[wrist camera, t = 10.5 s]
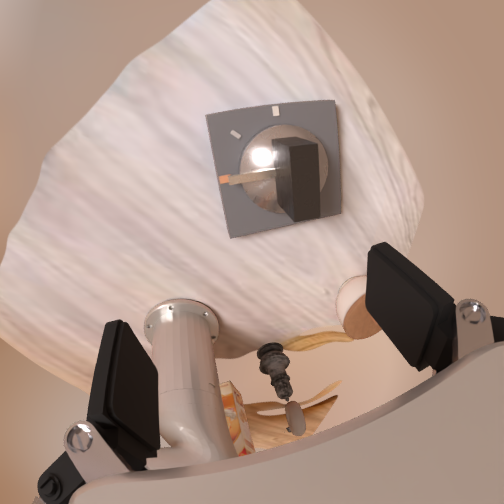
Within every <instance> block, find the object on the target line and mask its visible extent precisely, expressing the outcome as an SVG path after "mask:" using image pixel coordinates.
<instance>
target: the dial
mask: <svg viewBox="0 0 504 504" xmlns="http://www.w3.org/2000/svg"><path fill="white" fill-rule="evenodd" d="M327 173H328V160H327V155H326V152H325V149H324V147H323V146H322V144H321V142H320V141H319V140H318V139H317V138H316V137H315V136H314V135H313V134H312V133H311V132H309V131H307V130H306V129H303V128H301V127H298V126H294V125H288V124H278V125H272V126H269V127H266V128H264V129H262V130H261V131H259V132H257V133H256V134H255V135H254V136H253V137H252V138H251V139H250V140H249V141H248V142H247V144H246V145H245V147H244V149H243V151H242V153H241V156H240V160H239V174H236V175H230V176H228V181H229V185H234V184H239V183H241V184H242V187H243V188H244V190H245V192H246V193H247V195H248V196H249V198H250V199H251V200H252V201H253V202H254V203H255V204H256V205H258V206H259V207H261V208H263V209H265V210H267V211H270V212H274V213H286V214H287V215H288V216H289V217H290V218H291V219H292V220H293V222H294V223H295V222H300V221H306V220H311V219H316V218H321V212H320V192H321V190H322V188H323V186H324V184H325V182H326V178H327Z"/></svg>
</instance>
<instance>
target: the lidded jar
mask: <svg viewBox="0 0 504 504" xmlns="http://www.w3.org/2000/svg"><path fill="white" fill-rule="evenodd" d="M366 282H367V276H357V277H353V278H350V279H349V280H347V281H346V282H345V283H344V284H343V285H342V286H341V288H340V290H339V292H338V296H337V299H336V313H337V316H338V319H339V321H340V323H341V325H342V327H343V328H344V330H345V332H346V334H347V335H348V336H349V337H350V338H352V339H364V338H368V337H370V336H372V335H374V334H376V333H377V332H379V331H380V330H382V328H381V327H380V326H379V325H378V323H377V322H376V321H375V320H374V319H373V317H372V316H371V315H370V314H369V312H368V311H367V309H366V306H365V296H366Z"/></svg>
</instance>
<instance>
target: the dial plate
mask: <svg viewBox="0 0 504 504" xmlns="http://www.w3.org/2000/svg"><path fill="white" fill-rule="evenodd" d="M205 116H206V121H207V127H208V132H209V137H210V143H211V148H212V153H213V159H214V164H215V169H216V174H217V179H218V184H219V189H220V194H221V199H222V204H223V209H224V214H225V219H226V224H227V229H228V233H229V236H230V239H231V238H235V237H239V236H244V235H248V234H252V233H257V232H261V231H265V230H270V229H274V228H279V227H283V226H287V225H292V224H296V223H301V222H305V221H300V222H295V223H294V222H293V220H292V219H291V218H290V217H289V216H288V215H287V214H286V213H274V212H270V211H267V210H265V209H263V208H261V207H259V206H258V205H256V204H255V203H254V202H253V201H252V200H251V199H250V198H249V196H248V195H247V193H246V192H245V190H244V188H243V187H242V184H241V183H239V184H234V185H229V181H228V176H230V175H236V174H239V160H240V156H241V153H242V151H243V149H244V147H245V145H246V144H247V142H248V141H249V140H250V139H251V138H252V137H253V136H254V135H255V134H256V133H257V132H259V131H261V130H262V129H264V128H266V127H269V126H272V125H278V124H288V125H294V126H298V127H301V128H303V129H306V130H307V131H309V132H311V133H312V134H313V135H314V136H315V137H316V138H317V139H318V140H319V141H320V142H321V144H322V146H323V147H324V149H325V152H326V155H327V160H328V173H327V178H326V182H325V184H324V186H323V188H322V190H321V192H320V212H321V218H324V217H328V216H333V215H337V214H341V186H340V160H339V143H338V129H337V117H336V106H335V100H317V101H302V102H290V103H280V104H271V105H262V106H255V107H248V108H241V109H235V110H229V111H223V112H218V113H212V114H207V115H205ZM316 219H319V218H316ZM311 220H314V219H311ZM306 221H310V220H306Z"/></svg>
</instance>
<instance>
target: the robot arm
mask: <svg viewBox="0 0 504 504" xmlns="http://www.w3.org/2000/svg"><path fill="white" fill-rule="evenodd" d="M365 306H366V309H367V311H368V312H369V314H370V315H371V316H372V317H373V319H374V320H375V321H376V322H377V323H378V325H379V326H380V327H381V328H382V330H383V331H384V332H385V333H386V335H387V336H388V337H389V338H390V340H391V341H392V342H393V344H394V345H395V346H396V347H397V349H398V350H399V351H400V353H401V354H402V355H403V357H404V358H405V359H406V360H407V362H408V363H409V364H410V365H411V366H412V367H416V369H417V370H418V371H419V372H420V371H421V370H423V369H425V368H426V367H428V366H429V365H430V366H431V367H432V369H433V374H432V377H431V378H429V379H428V380H426V381H424V382H423V383H421V384H419V385H418V386H416V387H414V388H413V389H411V390H409V391H407V392H406V393H404V394H402V395H400V396H398V397H396V398H395V399H393V400H391V401H389V402H387V403H385V404H383V405H381V406H379V407H377V408H375V409H373V410H371V411H369V412H367V413H365V414H363V415H360V416H358V417H356V418H354V419H351V420H350V421H347V422H345V423H342V424H340V425H337V426H335V427H332V428H330V429H328V430H325V431H323V432H320V433H317V434H314V435H311V436H309V437H306V438H303V439H300V440H297V441H294V442H291V443H288V444H284V445H281V446H278V447H274V448H271V449H267V450H264V451H260V452H256V453H252V454H248V455H244V456H240V457H239V456H238V454H237V452H236V449H235V447H234V444H233V441H232V438H231V435H230V432H229V428H228V424H227V420H226V416H225V411H224V406H223V401H222V396H221V390H220V385H219V379H218V374H217V368H216V363H215V356H214V350H213V344H214V343H215V341H216V340H217V338H218V335H219V329H220V328H219V322H218V319H217V317H216V315H215V314H214V312H213V311H212V310H211V309H210V308H208V307H207V306H205V305H203V304H201V303H199V302H196V301H192V300H186V299H174V300H169V301H166V302H163V303H160V304H159V305H157V306H155V307H154V308H153V309H152V310H151V311H150V312H149V313H148V315H147V316H146V319H145V324H144V333H145V336H146V338H147V340H148V342H149V343H150V344H151V345H152V360H151V359H150V357H149V356H148V354H147V353H146V351H145V350H144V348H143V347H142V345H141V344H140V342H139V341H138V339H137V337H136V336H135V334H134V333H133V331H132V329H131V328H130V326H129V324H128V323H127V322H123V321H122V320H115V321H111V322H107V323H106V325H105V328H104V332H103V336H102V340H101V345H100V349H99V353H98V358H97V363H96V366H95V371H94V376H93V382H92V387H91V393H90V400H89V406H88V413H87V420H86V421H77V422H75V423H73V424H72V425H70V427H69V428H68V429H67V431H66V432H65V435H64V447H65V449H66V451H65V452H64V453H63V454H62V455H61V456H60V457H59V458H58V459H57V460H56V461H55V462H54V463H53V464H52V465H51V466H50V467H49V468H48V469H47V470H46V471H45V472H44V473H43V474H42V475H41V476H40V478H39V480H38V493H39V495H40V497H39V498H38V497H35V499H34V502H33V504H504V318H502V317H495V316H490V315H489V312H488V309H487V308H486V307H485V306H484V305H483V304H482V303H481V302H479V301H477V300H474V299H464V300H461V301H460V302H459V303H458V304H457V306H456V305H455V304H454V299H453V298H452V297H451V296H450V295H449V294H448V293H447V292H446V291H444V290H443V289H442V288H441V287H440V286H439V285H438V284H437V283H435V282H434V281H433V280H432V279H431V278H430V277H428V276H427V275H426V274H425V273H424V272H423V271H421V270H420V269H419V268H418V267H417V266H415V265H414V264H413V263H412V262H410V261H409V260H408V259H407V258H406V257H404V256H403V255H402V254H401V253H399V252H398V251H397V250H396V249H394V248H393V247H392V246H390V245H389V244H388V243H386V242H382V243H379V244H376V245H373V246H372V247H371V250H370V251H369V252H368V262H367V282H366V296H365ZM160 435H161V436H162V437H163V438H164V440H165V441H166V442H167V443H168V444H169V445H170V446H171V447H164V448H160Z"/></svg>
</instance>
